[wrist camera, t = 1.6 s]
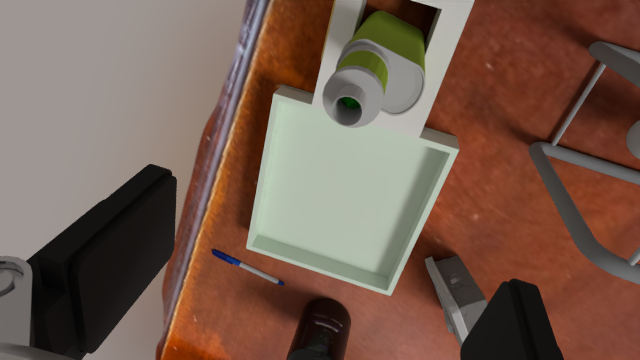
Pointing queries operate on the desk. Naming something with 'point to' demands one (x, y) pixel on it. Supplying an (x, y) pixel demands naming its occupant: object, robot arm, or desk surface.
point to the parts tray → (344, 192)
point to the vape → (377, 72)
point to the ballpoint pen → (245, 266)
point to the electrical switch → (456, 295)
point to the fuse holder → (438, 47)
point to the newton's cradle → (593, 166)
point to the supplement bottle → (321, 332)
